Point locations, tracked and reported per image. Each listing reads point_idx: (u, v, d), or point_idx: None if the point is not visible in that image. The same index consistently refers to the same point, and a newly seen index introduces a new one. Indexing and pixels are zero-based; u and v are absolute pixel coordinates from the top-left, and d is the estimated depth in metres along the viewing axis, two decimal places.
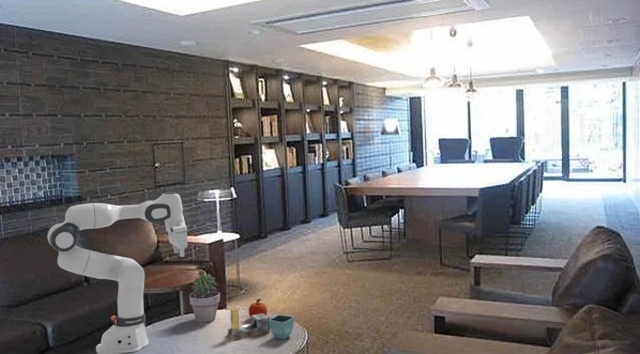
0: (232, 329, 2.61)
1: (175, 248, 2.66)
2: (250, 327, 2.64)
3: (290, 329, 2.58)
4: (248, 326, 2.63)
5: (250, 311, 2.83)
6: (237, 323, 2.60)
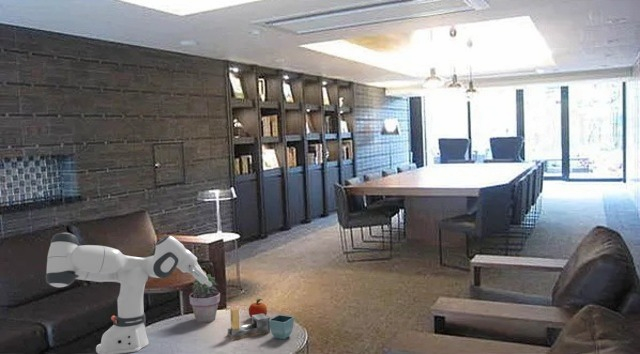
0: (232, 329, 2.61)
1: None
2: (250, 327, 2.64)
3: (290, 329, 2.58)
4: (248, 326, 2.63)
5: (250, 311, 2.83)
6: (237, 323, 2.60)
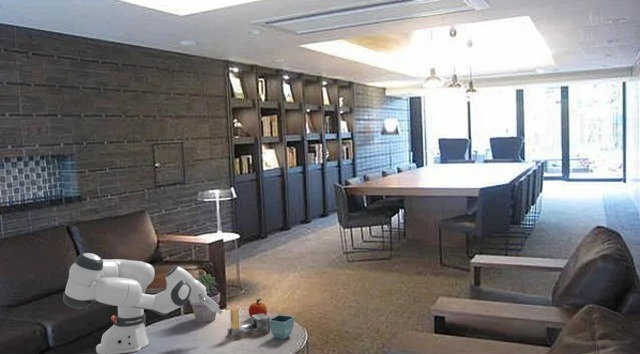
0: (232, 329, 2.61)
1: None
2: (250, 327, 2.64)
3: (290, 329, 2.58)
4: (248, 326, 2.63)
5: (250, 311, 2.83)
6: (237, 323, 2.60)
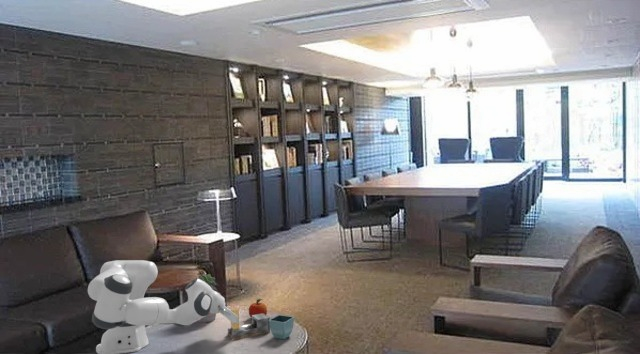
0: (232, 329, 2.61)
1: None
2: (250, 327, 2.64)
3: (290, 329, 2.58)
4: (248, 326, 2.63)
5: (250, 311, 2.83)
6: (237, 323, 2.60)
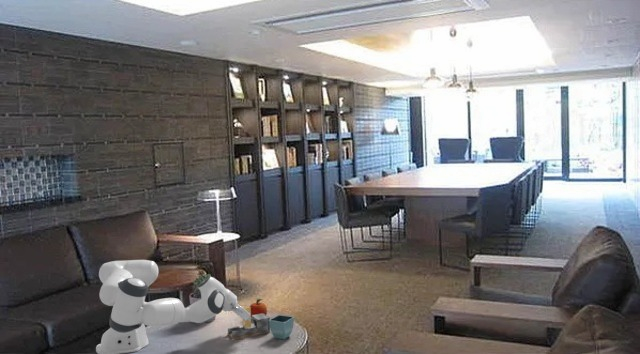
0: (244, 327, 2.64)
1: None
2: None
3: (290, 329, 2.58)
4: None
5: None
6: None
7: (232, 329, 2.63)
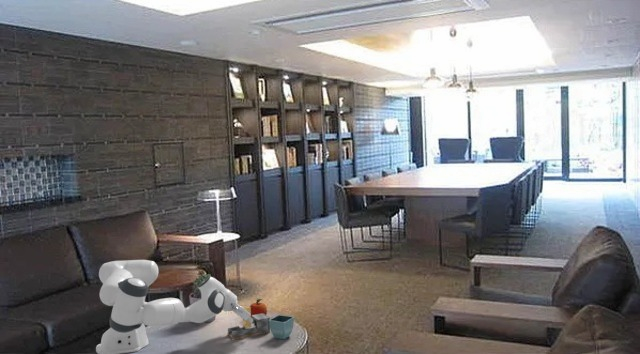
0: (244, 327, 2.64)
1: None
2: None
3: (290, 329, 2.58)
4: None
5: None
6: None
7: (232, 329, 2.63)
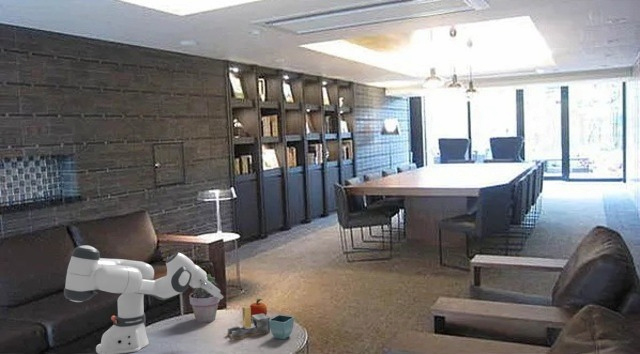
0: (244, 327, 2.64)
1: None
2: None
3: (290, 329, 2.58)
4: None
5: None
6: (249, 320, 2.63)
7: (232, 329, 2.63)
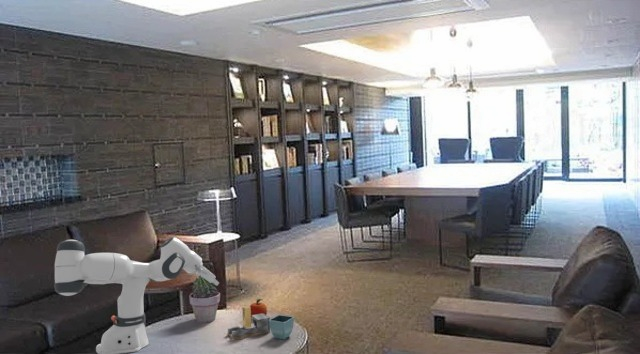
0: (244, 327, 2.64)
1: None
2: None
3: (290, 329, 2.58)
4: None
5: None
6: (249, 320, 2.63)
7: (232, 329, 2.63)
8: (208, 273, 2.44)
